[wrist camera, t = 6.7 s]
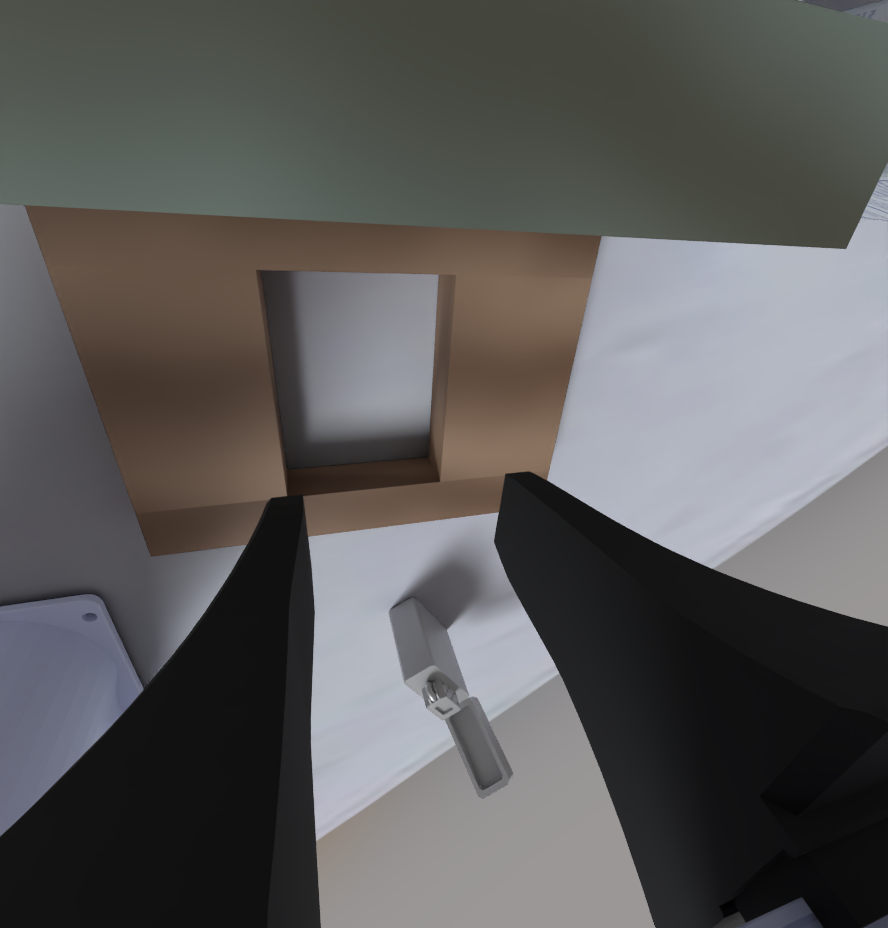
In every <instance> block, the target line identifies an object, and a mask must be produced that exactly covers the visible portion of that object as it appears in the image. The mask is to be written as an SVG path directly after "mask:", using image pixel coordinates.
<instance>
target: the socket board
mask: <svg viewBox="0 0 888 928" xmlns="http://www.w3.org/2000/svg"><path fill="white" fill-rule="evenodd" d="M887 163H888V23H885V22H881V21H877V20H873V19H869V18H865V17H861V16H857V15H853V14H849V13H845V12H841V11H837V10H833V9H829V8H825V7H821V6H817V5H813V4H809V3H805V2H801V1H797V0H0V204H11V205H25V208H26V210H27V213H28V216H29V219H30V221H31V224H32V227H33V230H34V233H35V235H36V238H37V241H38V244H39V247H40V249H41V252H42V255H43V258H44V260H45V263H46V266H47V269H48V272H49V274H50V277H51V280H52V283H53V285H54V288H55V291H56V294H57V297H58V299H59V302H60V305H61V308H62V310H63V313H64V316H65V319H66V322H67V324H68V327H69V330H70V333H71V336H72V338H73V341H74V344H75V347H76V349H77V352H78V355H79V358H80V361H81V363H82V366H83V369H84V372H85V374H86V377H87V380H88V383H89V386H90V388H91V391H92V394H93V397H94V399H95V402H96V405H97V408H98V411H99V413H100V416H101V419H102V422H103V424H104V427H105V430H106V433H107V436H108V438H109V441H110V444H111V447H112V450H113V452H114V455H115V458H116V461H117V463H118V466H119V469H120V472H121V475H122V477H123V480H124V483H125V486H126V488H127V491H128V494H129V497H130V500H131V502H132V505H133V508H134V511H135V513H136V516H137V519H138V522H139V525H140V527H141V530H142V533H143V536H144V539H145V541H146V544H147V547H148V550H149V552H150V555H151V557H152V556H160V555H168V554H175V553H183V552H191V551H199V550H207V549H215V548H222V547H230V546H238V545H246V544H248V542H249V540H250V538H251V536H252V534H253V532H254V530H255V528H256V526H257V524H258V522H259V520H260V518H261V515H262V513H263V511H264V508H265V505H266V503H267V502H268V501H269V500H270V499H271V498H273V497H283V496H293V495H303V498H304V507H305V515H306V524H307V533H308V537H309V536H316V535H324V534H332V533H340V532H348V531H356V530H363V529H371V528H379V527H387V526H395V525H403V524H410V523H418V522H426V521H434V520H442V519H450V518H457V517H465V516H473V515H481V514H489V513H497V512H499V509H500V503H501V497H502V490H503V484H504V478H505V474H507V473H517V472H527V471H530V472H532V473H534V474H536V475H538V476H540V477H542V478H543V479H545V480H547V477H548V473H549V468H550V464H551V459H552V455H553V451H554V446H555V442H556V437H557V433H558V428H559V424H560V419H561V415H562V410H563V406H564V401H565V397H566V392H567V388H568V383H569V379H570V374H571V370H572V365H573V361H574V357H575V352H576V348H577V343H578V339H579V334H580V330H581V325H582V321H583V316H584V312H585V307H586V303H587V298H588V294H589V289H590V285H591V280H592V276H593V271H594V267H595V263H596V258H597V254H598V249H599V245H600V240H601V236H613V237H632V238H651V239H669V240H688V241H707V242H726V243H745V244H763V245H782V246H801V247H820V248H839V249H846V248H847V246H848V244H849V242H850V239H851V237H852V235H853V233H854V231H855V229H856V227H857V225H858V223H859V221H860V219H861V217H862V215H863V212H864V210H865V208H866V206H867V204H868V202H869V200H870V198H871V196H872V194H873V192H874V190H875V188H876V185H877V183H878V181H879V179H880V177H881V175H882V173H883V171H884V169H885V167H886V165H887ZM261 270H278V271H320V272H362V273H403V274H439V281H438V298H437V315H436V332H435V350H434V367H433V384H432V401H431V418H430V436H429V453H428V457H426V458H415V459H404V460H392V461H381V462H370V463H358V464H347V465H336V466H324V467H313V468H302V469H290V470H287V464H286V456H285V449H284V441H283V434H282V426H281V419H280V411H279V403H278V396H277V388H276V381H275V373H274V366H273V358H272V350H271V343H270V335H269V328H268V320H267V313H266V305H265V297H264V290H263V282H262V275H261Z"/></svg>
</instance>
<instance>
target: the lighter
mask: <svg viewBox="0 0 888 928" xmlns="http://www.w3.org/2000/svg"><path fill="white" fill-rule="evenodd" d="M389 618H390V622H391V626H392V631H393V635H394V640H395V644H396V649H397V653H398V657H399V662H400V666H401V671H402V675H403V680H404V684H405V685H406V686H408V687H409V688H410V689H412V690H413V691H414V692H416V693H417V694H418V695H419V696H421V697H422V698H423V699H424V701H425V705H426V708H427V709H428V710H430V711H431V712H432V713H433V714H435V715H436V716H437V717H439V718H440V719H441V720H445V721H446V723H447V725H448V728H449V730H450V732H451V735H452V737H453V739H454V741H455V744H456V746H457V748H458V751H459V753H460V755H461V758H462V760H463V762H464V764H465V767H466V769H467V771H468V774H469V776H470V778H471V780H472V783H473V785H474V787H475V790H476V792H477V794H478V796H479V797H481V798H485V797H487V796H489V795H490V794H492V793H494V792H495V791H497V790H499V789H501V788H503V787H504V786H506V785H508V784H509V782H510V781H511V779H512V776H513V772H512V769H511V767H510V765H509V763H508V761H507V759H506V757H505V755H504V753H503V750H502V749H501V747H500V744H499V742H498V740H497V738H496V736H495V734H494V732H493V730H492V727H491V726H490V723H489V721H488V719H487V717H486V715H485V713H484V711H483V709H482V707H481V704H480V702H479V700H478V698H476V697H470V698H468V697H469V694H468V691H467V688H466V685H465V682H464V679H463V676H462V674H461V671H460V668H459V665H458V662H457V659H456V656H455V653H454V650H453V647H452V644H451V642H450V639H449V636H448V633H447V630H446V628H445V627H444V626H443V625H442V624H441V623H440V622H439V621H438V620H437V619H436V618H435V617H434V616H433V615H432V614H431V613H430V612H429V611H428V610H427V609H426V608H425V607H424V606H423V605H422V604H421V603H420V602H419V601H418V600H417V599H416V598H415V597H410V598H409V599H407V600H405V601H404V602H402V603H400V604H399V605H397V606H396V607H394V608H392V609H391V610H389Z"/></svg>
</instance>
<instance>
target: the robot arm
mask: <svg viewBox="0 0 888 928" xmlns="http://www.w3.org/2000/svg"><path fill="white" fill-rule="evenodd" d="M494 543H495V545H496V548H497V551H498V554H499V556H500V559H501V562H502V564H503V567H504V569H505V572H506V574H507V577H508V579H509V581H510V583H511V585H512V587H513V589H514V590H515V592H516V594H517V596H518V598H519V600H520V601H521V603H522V605H523V607H524V609H525V611H526V612H527V614H528V616H529V618H530V620H531V621H532V623H533V625H534V627H535V629H536V630H537V632H538V634H539V636H540V638H541V639H542V641H543V643H544V645H545V647H546V648H547V650H548V652H549V654H550V656H551V657H552V659H553V661H554V663H555V665H556V667H557V669H558V671H559V673H560V675H561V677H562V678H563V681H564V683H565V685H566V688H567V690H568V692H569V695H570V697H571V699H572V702H573V704H574V706H575V709H576V711H577V713H578V716H579V718H580V720H581V723H582V725H583V727H584V730H585V732H586V735H587V737H588V740H589V742H590V745H591V747H592V750H593V752H594V755H595V757H596V760H597V762H598V765H599V767H600V770H601V772H602V775H603V778H604V780H605V783H606V786H607V788H608V791H609V794H610V797H611V799H612V802H613V804H614V807H615V810H616V813H617V815H618V818H619V820H620V823H621V826H622V829H623V832H624V834H625V838H626V841H627V843H628V847H629V849H630V852H631V855H632V858H633V861H634V864H635V867H636V870H637V873H638V876H639V879H640V882H641V885H642V888H643V891H644V894H645V897H646V900H647V903H648V906H649V909H650V913H651V916H652V919H653V922H654V925H655V927H656V928H888V627H887V626H883V625H879V624H875V623H872V622H867V621H864V620H860V619H856V618H852V617H849V616H846V615H842V614H839V613H836V612H832V611H829V610H826V609H823V608H819V607H816V606H813V605H810V604H807V603H803V602H800V601H797V600H794V599H791V598H788V597H785V596H782V595H779V594H777V593H773V592H771V591H768V590H765V589H762V588H760V587H757V586H754V585H752V584H749V583H747V582H744V581H741V580H739V579H736V578H733V577H731V576H728V575H726V574H723V573H721V572H718V571H716V570H713V569H711V568H709V567H706V566H704V565H702V564H700V563H698V562H695V561H693V560H691V559H689V558H686V557H684V556H682V555H680V554H678V553H675V552H673V551H671V550H669V549H667V548H665V547H663V546H661V545H659V544H657V543H655V542H653V541H651V540H649V539H647V538H645V537H643V536H642V535H640V534H638V533H636V532H634V531H632V530H630V529H628V528H627V527H625V526H623V525H621V524H619V523H618V522H616V521H614V520H612V519H611V518H609V517H607V516H605V515H604V514H602V513H600V512H599V511H597V510H595V509H593V508H592V507H590V506H588V505H587V504H585V503H583V502H582V501H580V500H578V499H577V498H575V497H574V496H572V495H570V494H569V493H567V492H565V491H564V490H562V489H560V488H559V487H557V486H555V485H554V484H552V483H550V482H549V481H547V480H545V479H543V478H542V477H540V476H538V475H536V474H534V473H532V472H530V471H527V472H517V473H507V474H505V478H504V484H503V490H502V497H501V503H500V509H499V515H498V521H497V527H496V533H495V539H494ZM89 613H93V614H89ZM314 616H315V610H314V595H313V581H312V568H311V559H310V550H309V541H308V533H307V524H306V515H305V507H304V498H303V495H293V496H283V497H273V498H271V499H270V500H269V501H268V502H267V503H266V505H265V508H264V511H263V513H262V515H261V518H260V520H259V522H258V524H257V526H256V528H255V530H254V532H253V534H252V536H251V538H250V540H249V542H248V544H247V546H246V547H245V549H244V551H243V553H242V554H241V556H240V558H239V560H238V561H237V563H236V565H235V567H234V568H233V570H232V572H231V573H230V575H229V577H228V578H227V580H226V581H225V583H224V584H223V586H222V587H221V589H220V590H219V592H218V593H217V595H216V596H215V598H214V599H213V601H212V602H211V604H210V605H209V607H208V608H207V610H206V611H205V613H204V614H203V616H202V617H201V618H200V620H199V621H198V622H197V624H196V625H195V627H194V628H193V629H192V631H191V632H190V633H189V635H188V636H187V637H186V639H185V640H184V641H183V643H182V644H181V645H180V646H179V648H178V649H177V650H176V651H175V653H174V654H173V655H172V656H171V658H170V659H169V660H168V661H167V663H166V664H165V665H164V666H163V668H162V669H161V670H160V671H159V672H158V673H157V675H156V676H155V677H154V678H153V679H152V680H151V681H150V683H149V684H148V685H147V686H146V687H145V688H144V689H143V686H142V684H141V682H140V680H139V678H138V676H137V674H136V671H135V669H134V667H133V665H132V663H131V661H130V658H129V656H128V654H127V652H126V650H125V648H124V646H123V643H122V641H121V639H120V637H119V635H118V633H117V631H116V628H115V626H114V624H113V622H112V620H111V618H110V616H109V613H108V611H107V609H106V607H105V605H104V603H103V601H102V599H101V598H100V597H98V596H96V595H92V594H85V595H78V596H70V597H63V598H56V599H49V600H42V601H35V602H28V603H21V604H14V605H7V606H0V928H321V924H320V906H319V888H318V871H317V854H316V835H315V816H314V797H313V778H312V758H311V696H312V670H313V644H314Z"/></svg>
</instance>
